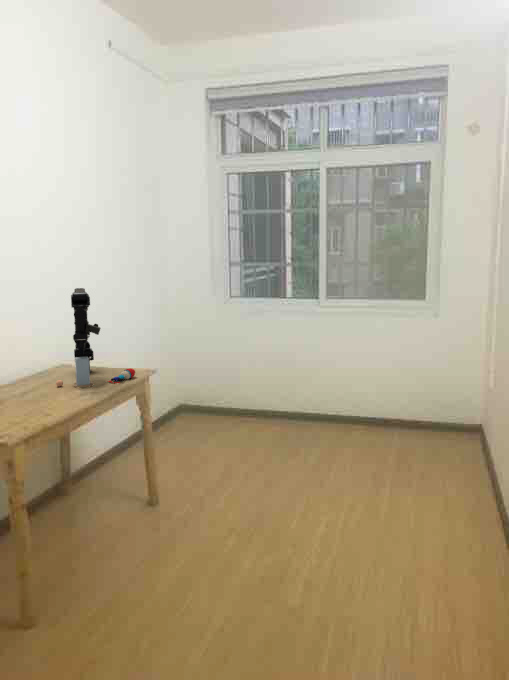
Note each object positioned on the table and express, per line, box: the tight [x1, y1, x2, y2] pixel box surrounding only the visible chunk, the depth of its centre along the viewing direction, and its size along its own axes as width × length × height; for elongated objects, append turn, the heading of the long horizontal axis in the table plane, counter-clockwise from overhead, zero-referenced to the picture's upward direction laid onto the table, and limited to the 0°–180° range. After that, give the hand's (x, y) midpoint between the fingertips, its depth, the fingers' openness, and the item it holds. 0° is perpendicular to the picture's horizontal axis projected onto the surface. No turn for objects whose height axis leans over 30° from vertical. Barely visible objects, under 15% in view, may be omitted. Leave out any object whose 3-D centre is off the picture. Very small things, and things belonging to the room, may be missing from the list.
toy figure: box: [107, 368, 136, 384], centre depth 260 cm, size 8×5×15 cm
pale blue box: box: [74, 356, 91, 386], centre depth 250 cm, size 5×6×12 cm
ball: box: [55, 379, 64, 388], centre depth 248 cm, size 3×3×3 cm
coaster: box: [72, 381, 94, 388], centre depth 251 cm, size 9×9×1 cm
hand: (82, 352), depth 258 cm, fingers open, 9 cm apart
